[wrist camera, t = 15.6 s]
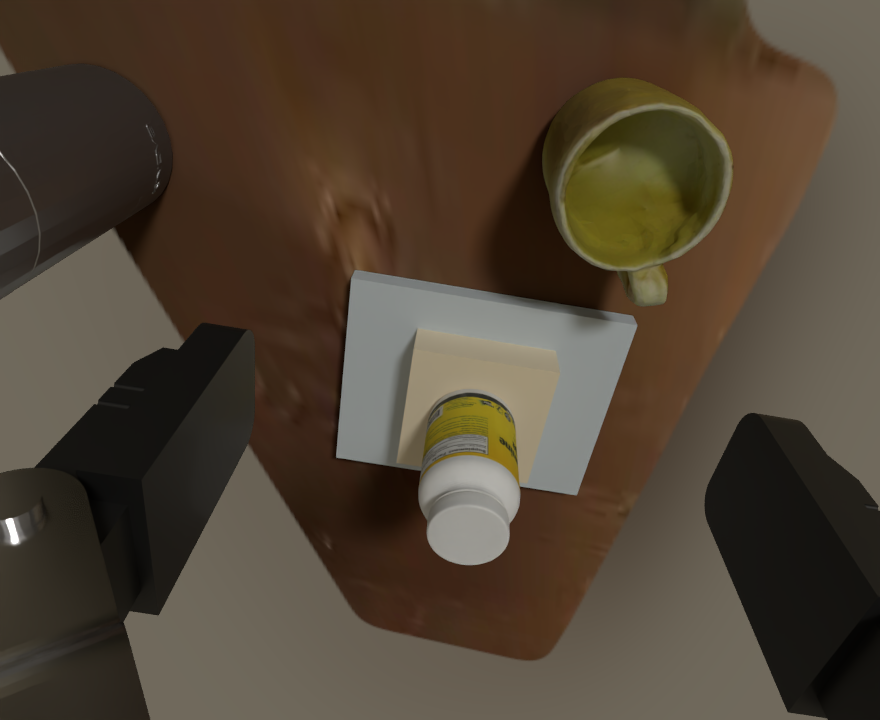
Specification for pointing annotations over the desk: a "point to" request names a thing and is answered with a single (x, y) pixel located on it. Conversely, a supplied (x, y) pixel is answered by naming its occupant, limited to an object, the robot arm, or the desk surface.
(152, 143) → the robot arm
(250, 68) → the desk surface
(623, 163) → the mug
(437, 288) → the board
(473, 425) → the pill bottle
